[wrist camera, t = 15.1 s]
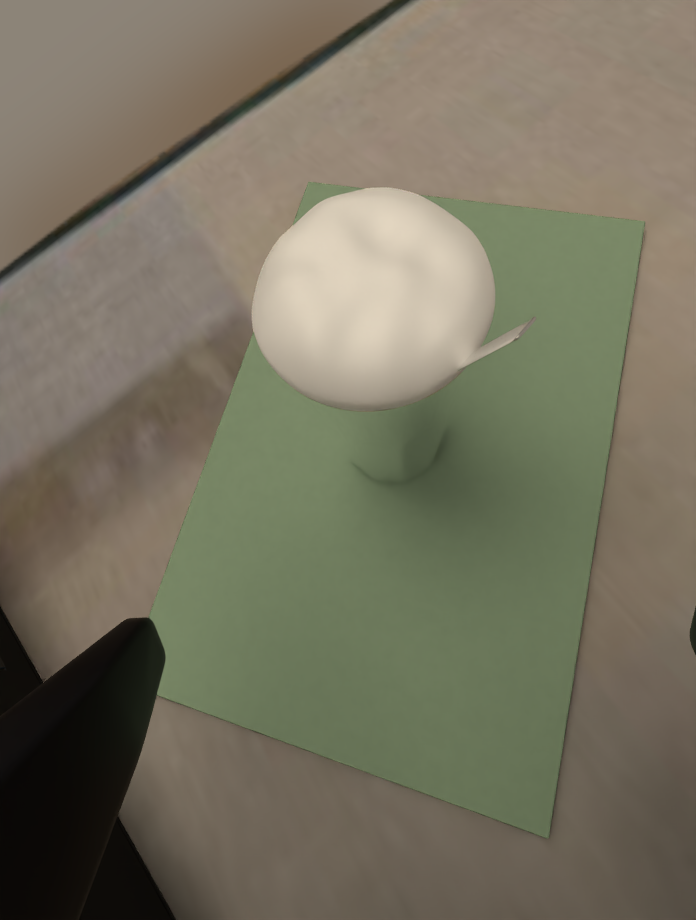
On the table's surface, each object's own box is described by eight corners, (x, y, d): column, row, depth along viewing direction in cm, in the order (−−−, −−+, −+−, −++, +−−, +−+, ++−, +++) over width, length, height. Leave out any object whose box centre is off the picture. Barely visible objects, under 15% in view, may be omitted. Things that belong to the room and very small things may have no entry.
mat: (545, 833, 14) (549, 840, 13) (130, 682, 16) (123, 683, 16) (641, 228, 19) (645, 220, 18) (310, 188, 21) (308, 181, 21)
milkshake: (419, 550, 16) (414, 452, 6) (300, 445, 18) (157, 245, 8) (510, 445, 16) (630, 215, 7) (388, 353, 18) (349, 65, 9)
